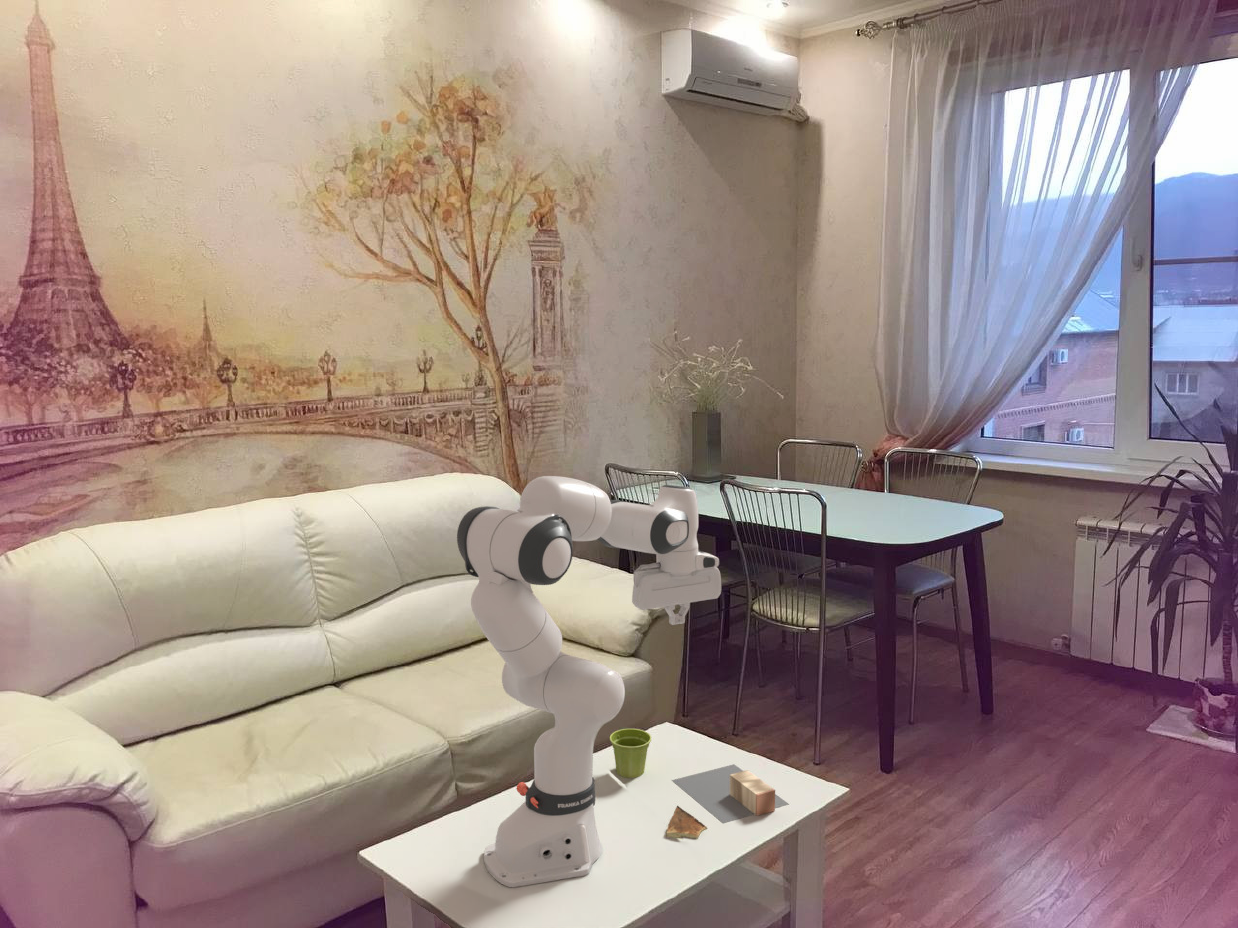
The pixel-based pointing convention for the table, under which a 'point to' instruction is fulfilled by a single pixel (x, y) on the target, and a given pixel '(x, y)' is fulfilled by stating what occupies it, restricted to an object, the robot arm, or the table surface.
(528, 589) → the robot arm
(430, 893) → the table surface
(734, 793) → the birch block
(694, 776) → the rubber mat
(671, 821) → the shard
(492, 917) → the table surface
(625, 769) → the plant pot
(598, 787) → the table surface
